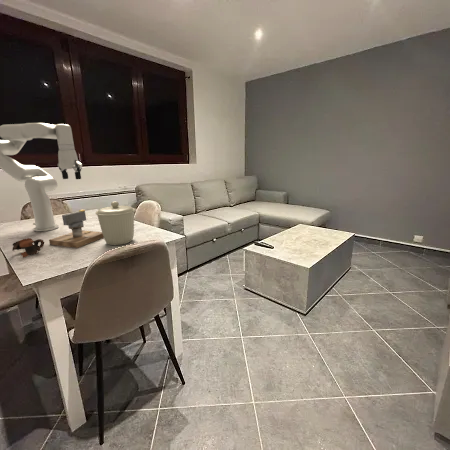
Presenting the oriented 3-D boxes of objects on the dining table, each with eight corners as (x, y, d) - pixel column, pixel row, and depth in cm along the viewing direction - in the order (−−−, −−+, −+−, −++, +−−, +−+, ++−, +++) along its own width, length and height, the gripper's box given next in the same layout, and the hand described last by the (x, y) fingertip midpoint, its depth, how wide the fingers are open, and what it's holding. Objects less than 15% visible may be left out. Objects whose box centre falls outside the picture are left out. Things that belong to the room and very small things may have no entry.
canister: (102, 239, 132) (96, 200, 127) (137, 235, 138) (133, 197, 133) (98, 250, 116) (91, 206, 110) (139, 245, 122) (134, 203, 117)
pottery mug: (14, 261, 107) (6, 244, 107) (22, 262, 115) (14, 247, 115) (46, 248, 112) (38, 232, 112) (51, 251, 120) (43, 236, 121)
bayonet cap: (71, 230, 122) (68, 214, 120) (61, 229, 125) (58, 213, 123) (90, 225, 132) (87, 210, 130) (80, 224, 135) (78, 209, 133)
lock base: (49, 244, 125) (46, 231, 123) (79, 234, 141) (77, 222, 140) (77, 248, 120) (74, 234, 118) (105, 236, 136) (103, 224, 134)
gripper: (48, 148, 138) (54, 179, 142) (72, 147, 133) (78, 179, 137) (61, 148, 145) (66, 178, 149) (84, 147, 139) (89, 178, 144)
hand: (72, 179), depth 143 cm, fingers open, 9 cm apart
